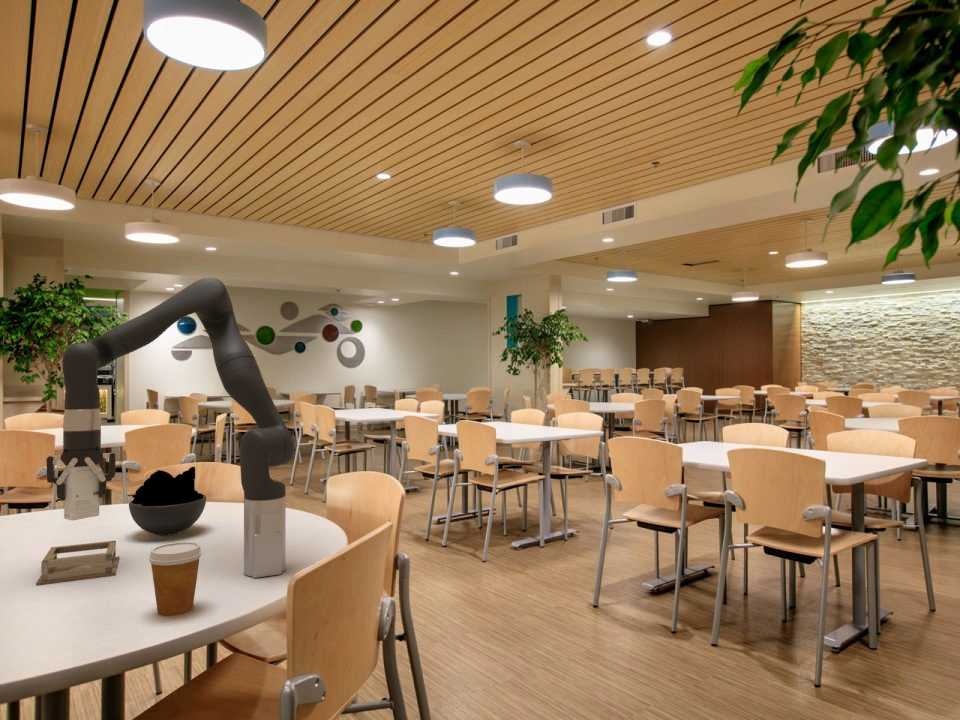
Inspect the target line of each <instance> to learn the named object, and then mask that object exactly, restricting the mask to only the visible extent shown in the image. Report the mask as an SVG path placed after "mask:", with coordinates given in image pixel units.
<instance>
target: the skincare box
mask: <svg viewBox="0 0 960 720" xmlns="http://www.w3.org/2000/svg"><path fill="white" fill-rule="evenodd" d="M96 466H97V467H98V468H101V465H100V464H98V465H96ZM66 467H67V466H65V467H64V470H65V469H66ZM67 471H68V470H67ZM99 482H100V480H99V478H98V477H97V476H96V475H95V473H94V472H93V471H92V470H91V468H90V467H89V466H78V467H71V468H70V473H69V474H68V476H67V477H66V479H65V480H64V501H63V502H64V504H63V505H64V506H63V519H64V520H69V521H77V520H83V519H84V520H85V519H90V518H94V517H98V516H100V498H99Z"/></svg>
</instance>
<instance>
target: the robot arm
mask: <svg viewBox="0 0 960 720" xmlns="http://www.w3.org/2000/svg"><path fill="white" fill-rule="evenodd" d="M227 289H228V288H227V287H226V285H225V283H224V282H222V281H221V279H219V278H215V277H211V276H210V277H209V276H208V277H203V278H200V279H197V280H196V281H194V282H193V283H191V284H189V285H188V286H186V287H185V288H183V289H181V290H180V291H179V292H177V293H176V294H174V295H172V296H171V297H169V298H167V299H166V300H164V301H162V302H161V303H160V304H158V305H157V306H155V307H153V308H151V309H149V310H148V311H146V312H144V313H142V314H140V315H138V316H136V317H134V318H132V319H130V320H127V321H126V322H123V323H121V324H118V325H116V326H114V327H111V328H110V329H108V330H106V331H105V332H104V333H103V334H102V335H100V336H97V337H96V338H95V337H94V338H92V339H90V340H87V341H85V342H77V343H73V344H71V345H69V346H68V347H67V348H66V349H65V351H64V353H63V355H62V374H63V382H64V388H65V390H64V412H63V418H62V419H63V421H62V434H63V435H62V453H61V455H48V456H47V458H46V459H45V460H46V461H45V462H46V463H45V464H46V482H47V483H49V484H50V483H51V484H52V483H53V484H54V485H55V486H56V498H57V499H59V501H60V502H64V483H65V479H66V477H67V476H68V474H69V473H70V468H71V467H78V466H89V467H90V468H91V470H92V471H93V472H94V473H95V475H96V476H97V477H98V478H99V480H100V482H99V499H102V498H103V497H104V496H105V495H106V493H107V481H109V480H110V479H111V480H112V479H113V478H114V477H115V476H116V463H117V462H116V461H117V459H116V458H117V454H116V451H112V452H103V451H102V416H101V415H102V414H101V407H100V405H101V399H100V396H101V393H100V388H99V387H100V386H98V370H99V369H101V368H103V367H104V366H106V365H109V364H110V363H112V362H113V361H115V360H117V359H118V358H121V357H124V356H126V355H128V354H129V355H130V353H133V352H135V351H138V350H140V349H141V348H143V347H146V346H148V345H149V344H151V343H153V342H154V341H155V340H157V339H158V338H159V337H161V335H162V334H164V333H165V331H167V330H168V329H169V328H170V327H172V326H173V325H174V324H175V323H177V322H178V321H179V320H182V319H183V318H186V317H187V316H190V315H192V314H194V313H195V315H196V316H197V318H198V319H199V321H200V322H201V324H202V326H203V328H204V329H205V331H206V333H207V335H208V338H209V340H210V342H211V347H212V355H213V359H214V364H215V367H216V371H217V373H218V376H219V379H220V382H221V384H222V386H223V389H224V390H225V392H226V393H227V394H228V395H229V397H230V398H231V399H232V400H234V401H235V402H236V403H237V404H238V405H239V406H240V407H242V409H244V410H245V411H246V412H247V413H248V414H249V415H250V416H251V418H252V419H253V420H254V422H255V424H256V426H257V428H254V429H253V428H251V429H248V430H247V431H246V432H244V433H243V435H242V436H241V439H240V444H239V465H240V482H241V488H242V490H243V497H244V498H243V574H244V575H245V576H248V577H252V578H253V579H256V578H263V577H269V576H276V575H277V576H278V575H282V573H283V572H284V571H285V570H286V562H287V561H286V560H287V558H286V556H287V555H286V534H287V532H286V530H287V529H286V528H287V527H286V522H287V518H286V508H287V507H286V505H287V504H286V503H287V502H286V501H287V498H286V497H287V496H286V494H287V493H286V490H287V489H286V484H285V483H284V482H283V481H278V480H275V479H273V478H272V477H271V476H270V468H272V467H279V466H283V465H287V464H288V463H289V462H290V461H291V460H292V458H293V457H294V441H293V438H292V435H291V433H290V430H289V429H288V426H287V425H286V423H285V422H284V419H283V418H282V416H281V414H280V412H279V411H278V409H277V407H276V405H275V403H274V401H273V398H272V396H271V394H270V391H269V390H268V388H267V385H266V383H265V380H264V377H263V375H262V372H261V370H260V366H259V365H258V362H257V360H256V357H255V355H254V353H253V351H252V349H251V348H250V346H249V345H248V343H247V341H246V340H245V338H244V337H243V336H242V333H241V331H240V328H239V326H238V322H237V319H236V316H235V313H234V307H233V302H232V299H231V296H230V295H229V292H228V290H227ZM102 459H105V462H107V463H108V473H105V472H104V471H103V470H102V468H101V467H100V468H98V467H97V466H96V465H99V463H100V462H101V460H102ZM59 461H61V462H62V463H63V464H64V465H65V467H66V469H65V468H64V470H63V472H62V473H61V474H60V476H58V477H57V476H56V470H55V469H56V466H57V464H59ZM67 470H68V471H67Z"/></svg>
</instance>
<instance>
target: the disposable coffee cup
mask: <svg viewBox="0 0 960 720" xmlns="http://www.w3.org/2000/svg"><path fill="white" fill-rule="evenodd" d="M202 554H203V550H202V549H201V546H200V544H199V543H197V542H193V541H180V542H171V543H165V544H161V545H158V546H155V547H154V548H152V549H151V551H150V554H149V555H148V557H147V559H148V561H149V563H150V565H151V574H152V580H153V581H152V582H153V588H154V589H153V590H154V594H155V595H154V596H155V602H156V603H155V604H156V610H157V614H158V615H161V616H175V615H181V614H184V613H186V612H189V611H191V610H192V609H193V608H194V601H195V596H196V587H197V579H198V572H199V565H200V564H199V563H200V558H201V556H202Z"/></svg>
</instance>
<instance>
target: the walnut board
mask: <svg viewBox="0 0 960 720" xmlns="http://www.w3.org/2000/svg"><path fill="white" fill-rule="evenodd" d="M120 559H121V557H120V555H119V556H118V555H117V556H116V558H115V562H114V566H113V569H112V573H105V574H97V575H89V576H81V577H73V578H65V579H57V580H49V581H41V575H40V576H39V578H38V580H37V581H36V582H35V586H41V585H51V584H57V583H58V584H59V583H65V582H74V581H81V580H89V579H97V578H98V579H100V578H105V577H113V576H116V575H117V574H116V573H117V570H118V567H119V562H120ZM101 566H106V561H102V562H94V563H85V564H77V565H68V566H60V567H55V569H54V571H53V572H59V571H68V570H76V569H84V568H92V567H101Z"/></svg>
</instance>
